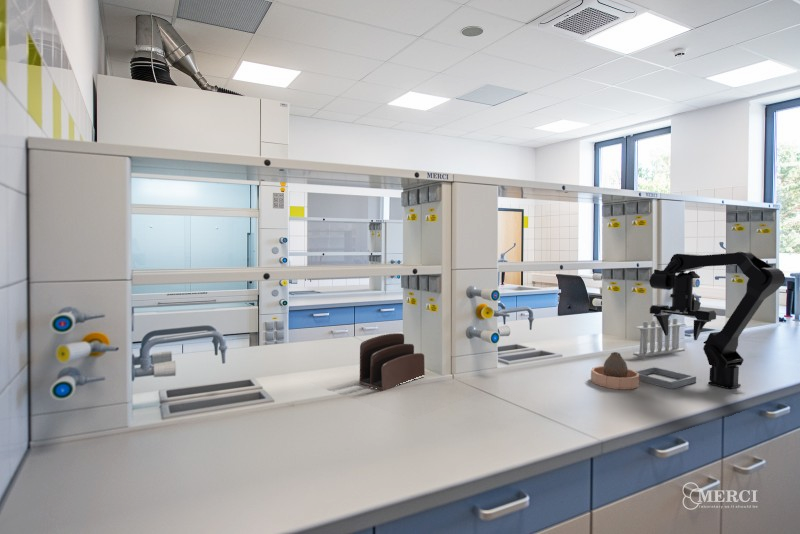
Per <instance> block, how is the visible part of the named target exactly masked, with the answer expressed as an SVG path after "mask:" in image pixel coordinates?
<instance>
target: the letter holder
mask: <svg viewBox="0 0 800 534" xmlns="http://www.w3.org/2000/svg"><path fill="white" fill-rule="evenodd" d="M425 366H426V365H425V355H424V353H421V352H418V353H415V346H414V344H413V343H405V334H404V333H399V332H398V333H393V332H392V333H387V334H382V335H378V336H375V337H371V338H369V339H366V340H364V341H362V342H361V343H360V344H359V385H361V384H363V385H362V386H364V385H366V386H365V387H367V386H369V387H368V388H370V387H374V388H377V389H378V390H377V389H376V390H377V391H381V392H384V391H386V390H389V389H392V388H395V386H396V385H398V384H400V383H403V382H406V381H408V380H411V379H414V378H416V377H419V376H422V375H425V376H426V373H425V372H426V371H425V369H426V367H425ZM396 387H397V386H396ZM374 388H373V389H374Z"/></svg>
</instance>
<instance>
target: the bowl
mask: <svg viewBox="0 0 800 534" xmlns="http://www.w3.org/2000/svg"><path fill="white" fill-rule="evenodd" d="M603 366H604V365H602V366H595V367H592V369H591V370H590V380H591V383H593V384H595V385H597V386H599V387H602V388H607V389H612V390H613V389H615V390H634V389H637V388H639V383H640V380H639V373H637V372H635V371H636V370H633V369H629V368H627V369H628V372H627V376H626V377H622V378H619V377H611V376H606V375H604V372H603Z"/></svg>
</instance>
